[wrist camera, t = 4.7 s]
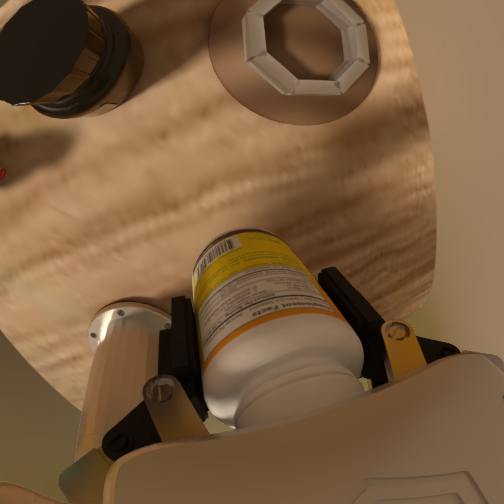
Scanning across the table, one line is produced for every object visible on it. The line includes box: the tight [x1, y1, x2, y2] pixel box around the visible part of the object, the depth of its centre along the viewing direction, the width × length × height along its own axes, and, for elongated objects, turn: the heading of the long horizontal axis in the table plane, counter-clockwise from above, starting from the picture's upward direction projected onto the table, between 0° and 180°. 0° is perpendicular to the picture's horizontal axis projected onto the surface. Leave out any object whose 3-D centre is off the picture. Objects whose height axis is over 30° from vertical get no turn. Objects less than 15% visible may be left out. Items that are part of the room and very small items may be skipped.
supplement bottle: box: [192, 227, 364, 430], centre depth 11 cm, size 6×6×10 cm
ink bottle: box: [0, 0, 144, 119], centre depth 13 cm, size 10×9×12 cm
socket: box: [208, 0, 378, 125], centre depth 19 cm, size 16×16×4 cm
